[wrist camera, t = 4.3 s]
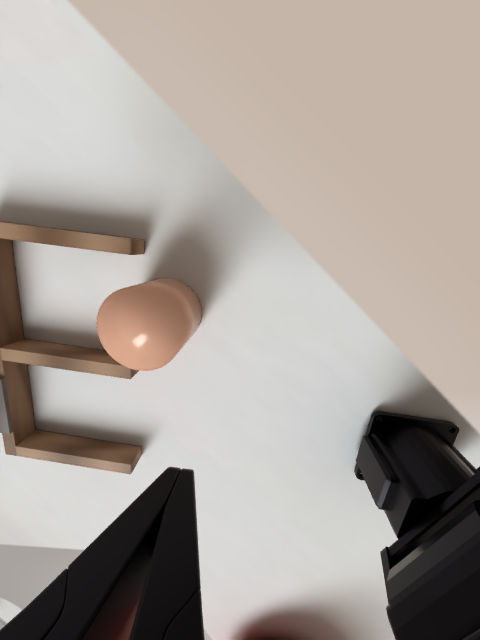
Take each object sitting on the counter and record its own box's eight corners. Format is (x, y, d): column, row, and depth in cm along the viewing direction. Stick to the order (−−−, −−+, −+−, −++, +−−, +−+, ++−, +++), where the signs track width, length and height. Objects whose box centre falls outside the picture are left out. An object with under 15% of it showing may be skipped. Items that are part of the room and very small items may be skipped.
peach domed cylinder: (205, 284, 19) (186, 295, 14) (197, 347, 20) (177, 377, 15) (139, 272, 19) (97, 279, 14) (135, 336, 20) (95, 362, 15)
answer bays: (144, 239, 18) (128, 238, 16) (141, 455, 23) (128, 477, 21) (-4, 221, 18) (-40, 217, 16) (26, 437, 24) (2, 456, 22)
